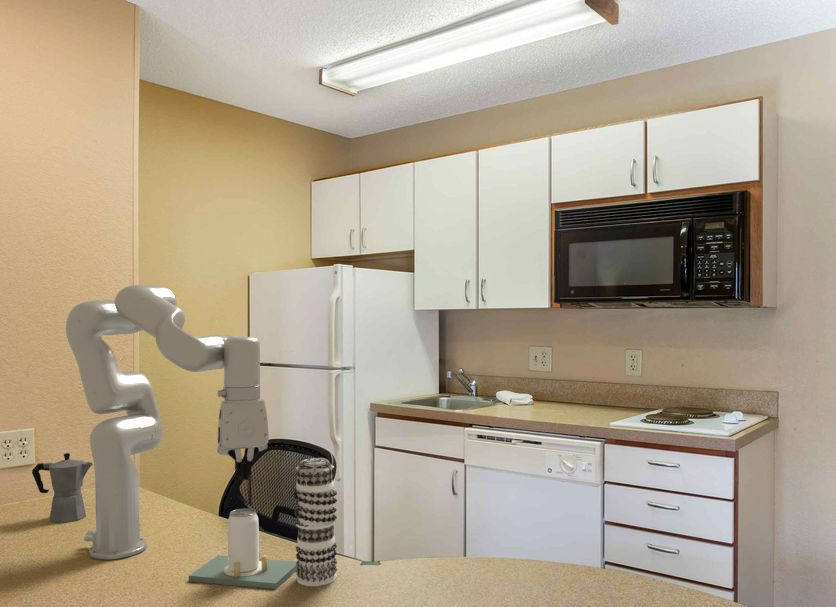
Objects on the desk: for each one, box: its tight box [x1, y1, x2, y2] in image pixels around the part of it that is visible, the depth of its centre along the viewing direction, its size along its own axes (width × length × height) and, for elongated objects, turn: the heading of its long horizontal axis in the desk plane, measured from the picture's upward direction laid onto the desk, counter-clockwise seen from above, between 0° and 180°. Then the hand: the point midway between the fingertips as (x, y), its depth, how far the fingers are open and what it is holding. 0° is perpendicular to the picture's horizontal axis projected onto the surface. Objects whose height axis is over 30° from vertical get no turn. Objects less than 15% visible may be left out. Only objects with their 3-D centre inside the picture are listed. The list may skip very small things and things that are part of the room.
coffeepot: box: [31, 452, 94, 524], centre depth 192 cm, size 15×9×18 cm, turn 103°
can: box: [227, 508, 260, 573], centre depth 150 cm, size 6×6×12 cm
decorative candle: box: [292, 457, 338, 587], centre depth 147 cm, size 9×9×25 cm
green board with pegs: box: [188, 546, 297, 590], centre depth 150 cm, size 20×12×4 cm, turn 76°
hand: (243, 478), depth 150 cm, fingers closed
